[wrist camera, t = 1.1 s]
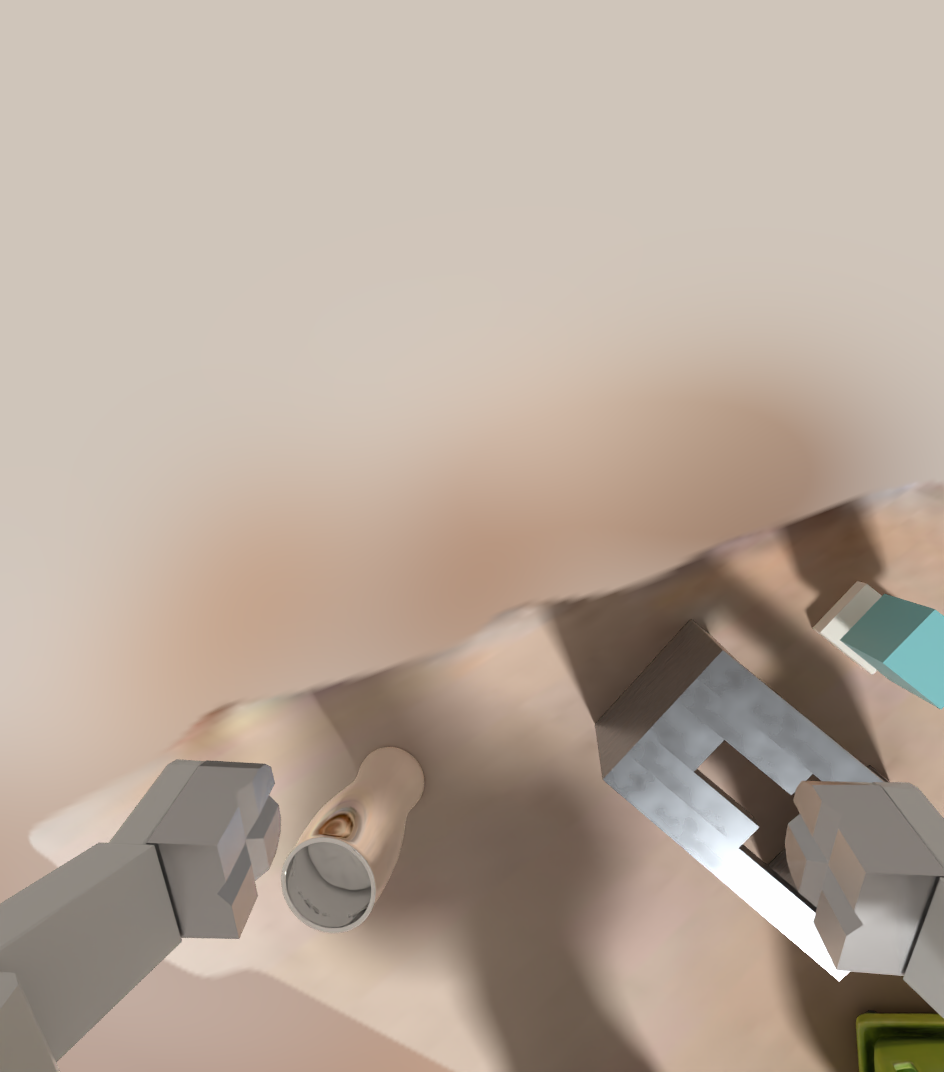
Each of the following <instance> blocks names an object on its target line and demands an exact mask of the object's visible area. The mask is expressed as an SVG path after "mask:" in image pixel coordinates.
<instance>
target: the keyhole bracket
mask: <svg viewBox="0 0 944 1072" xmlns="http://www.w3.org/2000/svg"><path fill="white" fill-rule="evenodd" d="M595 728H596V735H597V742H598V750H599V757H600V764H601V771H602V778H603V780H604V781H605V782H606V783H607V784H608V785H610V786H611V787H612V788H613V789H614V790H615V791H617V792H618V793H619V794H620V795H621V796H622V797H624V798H625V799H626V800H627V801H628V802H630V803H631V804H632V805H633V806H634V807H635V808H637V809H638V810H639V811H640V812H641V813H642V814H644V815H645V816H646V817H647V818H648V819H649V820H651V821H652V822H653V823H654V824H655V825H656V826H658V827H659V828H660V829H661V830H662V831H664V832H665V833H666V834H667V835H668V836H669V837H671V838H672V839H673V840H674V841H675V842H676V843H678V844H679V845H680V846H681V847H682V848H683V849H685V850H686V851H687V852H688V853H689V854H690V855H692V856H693V857H694V858H695V859H696V860H698V861H699V862H700V863H701V864H702V865H703V866H705V867H706V868H707V869H708V870H709V871H710V872H712V873H713V874H714V875H715V876H716V877H717V878H719V879H720V880H721V881H722V882H723V883H725V884H726V885H727V886H728V887H729V888H730V889H732V890H733V891H734V892H735V893H736V894H737V895H739V896H740V897H741V898H742V899H743V900H744V901H746V902H747V903H748V904H749V905H750V906H751V907H753V908H754V909H755V910H756V911H757V912H759V913H760V914H761V915H762V916H763V917H764V918H766V919H767V920H768V921H769V922H770V923H771V924H773V925H774V926H775V927H776V928H777V929H778V930H780V931H781V932H782V933H783V934H784V935H785V936H787V937H788V938H789V939H790V940H791V941H793V942H794V943H795V944H796V945H797V946H798V947H800V948H801V949H802V950H803V951H804V952H805V953H807V954H808V955H809V956H810V957H811V958H812V959H814V960H815V961H816V962H817V963H818V964H820V965H821V966H822V967H823V968H824V969H825V970H827V971H828V972H829V973H830V974H831V975H832V976H834V977H835V978H836V979H837V980H838V981H840V980H841V979H842V978H843V977H845V976H846V975H847V974H848V973H849V972H850V971H838V970H836V969H835V966H834V964H833V962H832V960H831V958H830V956H829V954H828V952H827V950H826V948H825V946H824V944H823V942H822V940H821V938H820V936H819V934H818V931H817V929H816V927H815V925H814V923H813V921H814V917H815V913H816V909H817V907H816V906H814V905H813V904H812V903H811V902H810V901H808V900H807V899H806V898H805V897H804V896H802V895H801V894H800V893H799V892H798V890H797V887H796V885H795V883H794V881H793V879H792V877H791V873H790V870H789V867H788V863H787V858H786V848H785V849H784V850H783V851H782V852H781V853H780V854H779V855H778V856H777V857H776V858H775V859H774V860H773V861H772V862H771V863H770V864H769V865H767V864H766V863H764V862H763V861H762V860H761V859H760V858H758V857H757V856H756V855H755V854H754V853H753V852H751V851H750V850H749V849H748V848H747V847H745V846H744V845H743V843H744V842H745V841H746V840H747V839H748V838H749V837H750V836H751V835H752V834H753V833H754V832H755V831H756V830H757V829H758V828H759V826H758V824H757V822H756V821H755V819H754V817H753V815H751V814H750V813H749V812H748V811H747V810H745V809H744V808H743V807H742V806H741V805H740V804H738V803H737V802H736V801H735V800H734V799H732V798H731V797H730V796H729V795H728V794H726V793H725V792H724V791H723V790H722V789H720V788H719V787H718V786H717V785H716V784H714V783H713V782H712V781H711V780H710V779H709V778H707V777H706V776H705V775H704V774H703V773H701V772H700V771H699V770H698V769H697V768H698V767H699V766H700V765H701V764H702V763H703V762H704V761H705V760H706V758H707V757H708V756H709V755H710V754H711V753H712V752H713V751H714V750H715V749H716V748H717V747H718V746H719V745H720V744H721V743H722V742H723V741H724V740H725V741H726V742H728V743H729V744H730V745H731V746H732V747H734V748H735V749H736V750H737V751H738V752H740V753H741V754H742V755H743V756H744V757H746V758H747V759H748V760H749V761H750V762H752V763H753V764H754V765H755V766H756V767H758V768H759V769H760V770H761V771H763V772H764V773H765V774H766V775H767V776H769V777H770V778H771V779H772V780H773V781H775V782H776V783H777V784H778V785H779V786H781V787H782V788H783V789H784V790H785V791H787V792H788V793H789V794H790V795H792V794H793V793H794V792H795V791H796V788H797V786H798V785H799V784H800V782H801V781H806V780H807V779H808V778H809V777H810V776H811V775H812V774H814V775H815V776H816V777H817V778H819V779H820V780H821V781H833V782H868V783H872V782H890V781H889V780H887V779H886V778H885V777H884V776H882V775H881V774H880V773H879V772H878V771H876V770H875V769H874V768H873V767H871V766H870V765H869V766H868V767H866V766H865V765H864V764H863V763H861V762H860V761H859V760H858V759H856V758H855V757H854V756H853V755H852V754H850V753H849V752H848V751H847V750H845V749H844V748H843V747H842V746H841V745H839V744H838V743H837V742H836V741H834V740H833V739H832V738H831V737H830V736H828V735H827V734H826V733H825V732H823V731H822V730H821V729H820V728H819V727H817V726H816V725H815V724H814V723H812V722H811V721H810V720H809V719H808V718H806V717H805V716H804V715H803V714H801V713H800V712H799V711H798V710H797V709H795V708H794V707H793V706H792V705H790V704H789V703H788V702H787V701H786V700H784V699H783V698H782V697H781V696H779V695H778V694H777V693H776V692H775V691H773V690H772V689H771V688H770V687H768V686H767V685H766V684H765V683H764V682H762V681H761V680H760V679H759V678H757V677H756V676H755V675H754V674H753V673H751V672H750V671H749V670H748V669H746V668H745V667H744V666H743V665H742V664H740V663H739V662H738V661H737V660H736V659H735V658H734V657H733V656H732V655H731V654H730V653H729V652H728V651H727V650H726V649H725V648H724V647H723V646H722V645H720V644H719V643H718V642H717V641H716V640H715V639H714V638H713V637H712V636H711V635H710V634H709V633H708V632H706V631H705V630H704V629H703V628H701V627H700V626H699V625H698V624H697V623H695V622H694V621H693V620H692V619H690V620H689V622H688V623H687V624H686V625H685V626H684V627H683V628H682V629H681V630H680V631H679V633H678V634H677V635H676V636H675V637H674V638H673V639H672V640H671V641H670V642H669V644H668V645H667V646H666V647H665V648H664V649H663V650H662V651H661V652H660V653H659V655H658V656H657V657H656V658H655V659H654V660H653V661H652V662H651V663H650V664H649V666H648V667H647V668H646V669H645V670H644V671H643V672H642V673H641V674H640V675H639V677H638V678H637V679H636V680H635V681H634V682H633V683H632V684H631V685H630V686H629V688H628V689H627V690H626V691H625V692H624V693H623V694H622V695H621V696H620V697H619V699H618V700H617V701H616V702H615V703H614V704H613V705H612V706H611V707H610V708H609V710H608V711H607V712H606V713H605V714H604V715H603V716H602V717H601V718H600V719H599V721H598V722H597V723H596V724H595Z"/></svg>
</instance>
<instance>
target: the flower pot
mask: <svg viewBox="0 0 944 1072" xmlns="http://www.w3.org/2000/svg"><path fill="white" fill-rule="evenodd" d="M856 1034H857V1049H858V1063H859V1072H944V1018H943V1017H942V1016H941V1015H939V1014H878V1013H877V1012H875V1011H868V1012H866V1013H865V1014H861V1015H859V1016H858V1017H857V1019H856Z"/></svg>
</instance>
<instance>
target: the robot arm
mask: <svg viewBox="0 0 944 1072" xmlns="http://www.w3.org/2000/svg"><path fill="white" fill-rule="evenodd" d="M274 784H275V782H274V778H273V773H272V769H271V767H270V766H268V765H266V764H258V763H241V762H223V761H193V760H178V759H177V760H175V761H173V762H171V763H170V764H168V765H167V766H166V767H165V769H164V770H163V771H162V773H161V774H160V775H159V777H158V778H157V779H156V781H155V782H154V783H153V785H152V786H151V787H150V789H149V790H148V791H147V793H146V794H145V795H144V797H143V798H142V799H141V801H140V802H139V803H138V805H137V806H136V807H135V809H134V810H133V811H132V813H131V814H130V815H129V817H128V818H127V819H126V821H125V822H124V823H123V825H122V826H121V827H120V829H119V830H118V831H117V832H116V834H115V835H114V836H113V838H112V839H111V840H110V842H109V843H98V844H96V845H94V846H93V847H91V848H90V849H88V850H86V851H85V852H83V853H81V854H80V855H78V856H77V857H75V858H73V859H72V860H70V861H68V862H67V863H65V864H64V865H62V866H60V867H59V868H57V869H56V870H54V871H52V872H51V873H49V874H47V875H46V876H44V877H43V878H41V879H39V880H38V881H36V882H34V883H33V884H31V885H30V886H28V887H26V888H25V889H23V890H22V891H20V892H18V893H17V894H15V895H14V896H12V897H10V898H9V899H7V900H5V901H4V902H2V903H1V904H0V1072H60V1070H59V1068H58V1066H57V1063H56V1062H57V1061H58V1060H59V1059H60V1058H61V1057H62V1056H63V1055H64V1054H66V1053H67V1052H68V1050H70V1049H71V1048H72V1047H73V1046H74V1045H75V1044H76V1043H77V1042H78V1041H79V1040H80V1039H81V1038H82V1037H83V1036H84V1035H85V1034H86V1033H87V1032H88V1031H89V1030H90V1029H91V1028H93V1027H94V1025H96V1024H97V1023H98V1022H99V1021H100V1020H101V1019H102V1018H103V1017H104V1016H105V1015H106V1014H107V1013H108V1012H109V1011H110V1010H111V1009H112V1008H113V1007H114V1006H115V1005H116V1004H117V1003H118V1002H119V1001H120V1000H121V999H123V998H124V997H125V996H126V995H127V994H128V993H129V992H130V991H131V990H132V989H133V988H134V987H135V986H136V985H137V984H138V983H139V982H140V981H141V980H142V979H143V978H144V977H145V976H146V975H147V974H148V973H150V971H152V970H153V969H154V968H155V967H156V966H157V965H158V964H159V963H160V962H161V961H162V960H163V959H164V958H165V957H166V956H167V955H168V954H169V953H170V952H171V951H172V950H173V949H174V948H176V947H177V946H178V945H179V944H180V943H181V942H182V939H181V938H224V939H239V938H240V936H241V933H242V931H243V929H244V927H245V924H246V922H247V920H248V917H249V915H250V913H251V911H252V908H253V906H254V904H255V901H256V899H257V897H258V894H257V889H256V884H255V881H256V880H257V879H258V878H259V877H260V876H262V875H263V874H264V873H265V872H267V871H268V870H269V869H270V866H271V864H272V861H273V859H274V857H275V854H276V851H277V847H278V842H279V837H280V832H281V816H280V810H279V805H278V804H277V803H276V802H275V801H274V800H273V799H272V798H271V797H270V796H269V794H270V792H271V790H272V788H273V786H274ZM793 802H794V803H795V805H796V807H797V809H798V811H799V813H800V814H799V815H798V816H796V817H795V818H794V819H793V820H792V821H790V822H789V823H788V826H787V832H786V837H785V848H786V858H787V863H788V867H789V870H790V873H791V877H792V879H793V881H794V883H795V885H796V887H797V890H798V892H799V893H800V894H801V895H802V896H804V897H805V898H806V899H807V900H808V901H810V902H811V903H812V904H813V905H814V906H816V907H817V909H816V913H815V917H814V921H813V923H814V925H815V927H816V929H817V931H818V934H819V936H820V938H821V940H822V942H823V944H824V946H825V948H826V950H827V952H828V954H829V956H830V958H831V960H832V962H833V964H834V966H835V969H836V970H838V971H850V972H862V973H874V974H887V975H899V976H904V978H903V980H904V981H905V982H906V983H907V984H908V985H909V986H910V987H911V988H912V989H913V990H915V991H916V992H917V993H918V994H919V995H920V996H921V997H922V998H923V999H924V1000H925V1001H926V1002H927V1003H928V1004H929V1005H930V1006H931V1007H932V1008H933V1009H934V1010H935V1011H936V1012H937V1013H938V1014H939V1015H941V1016H942V1017H943V1018H944V818H943V817H942V816H941V815H940V813H939V812H938V811H937V810H936V809H935V807H934V806H933V805H932V804H931V803H930V801H929V800H928V799H927V798H926V797H925V795H924V794H923V793H922V792H921V791H920V790H919V789H918V788H917V787H915V786H914V785H912V784H910V783H898V782H872V783H868V782H833V781H801V782H800V784H799V785H798V786H797V788H796V791H795V795H794V799H793Z"/></svg>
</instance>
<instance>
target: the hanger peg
mask: <svg viewBox="0 0 944 1072" xmlns="http://www.w3.org/2000/svg"><path fill="white" fill-rule="evenodd" d="M812 629H814V630H815V631H816V632H817V633H819V634H820V635H821V636H822V637H824V638H825V639H826V640H827V641H829V642H830V643H831V644H832V645H834V646H835V647H836V648H837V649H839V650H840V651H841V652H842V653H844V654H845V655H846V656H847V657H848V658H850V659H851V660H852V661H853V662H855V663H856V664H857V665H858V666H860V667H861V668H862V669H864V670H865V671H867V672H869V673H870V674H872V675H873V674H874V673H875V672H876V671H877V670H878V671H879V672H880V673H881V674H883V675H884V676H885V677H886V678H888V679H889V680H890V681H892V682H894V683H895V684H897V685H899V686H901V687H902V688H904V689H906V690H908V691H909V692H911V693H913V694H915V695H916V696H918V697H920V698H922V699H923V700H925V701H927V702H929V703H930V704H932V705H934V706H936V707H937V708H939V709H942V708H943V707H944V616H943V615H941V614H940V613H939V612H938V611H936V610H935V609H932V608H929V607H926V606H922V605H919V604H916V603H913V602H909V601H906V600H903V599H900V598H897V597H893V596H890V595H887V594H884V595H883V596H882V595H880V594H879V593H878V592H877V591H875V590H874V589H873V588H872V587H870V586H869V585H868V584H866V583H863V582H859V581H857V582H856V583H855V584H854V585H853V586H852V587H851V588H850V589H849V590H848V591H847V592H846V593H845V594H844V595H843V596H842V597H841V598H840V599H839V601H838V602H837V603H836V604H835V605H834V606H833V607H832V608H831V609H830V610H829V611H828V612H827V613H826V614H825V615H824V616H823V617H822V618H821V619H820V620H819V622H818V623H817V624H816V625H815V626H814V627H813V628H812Z"/></svg>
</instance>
